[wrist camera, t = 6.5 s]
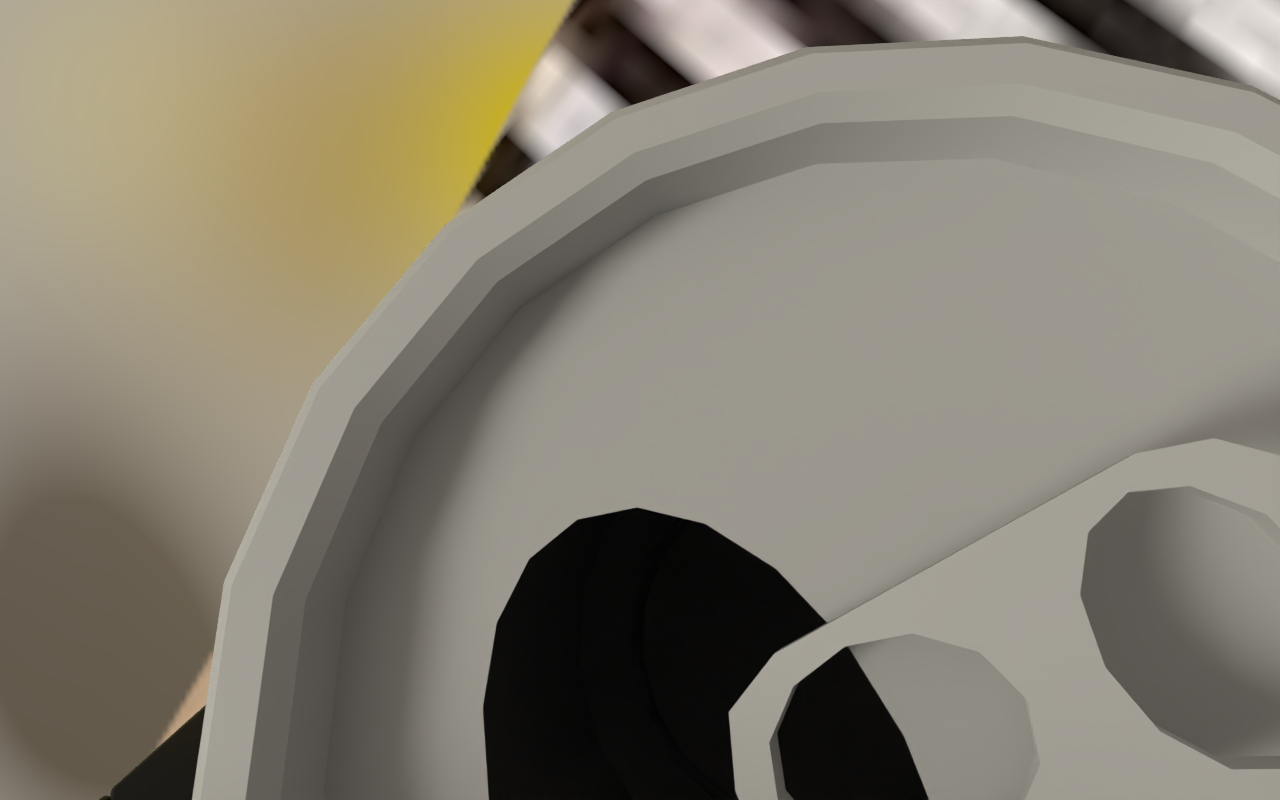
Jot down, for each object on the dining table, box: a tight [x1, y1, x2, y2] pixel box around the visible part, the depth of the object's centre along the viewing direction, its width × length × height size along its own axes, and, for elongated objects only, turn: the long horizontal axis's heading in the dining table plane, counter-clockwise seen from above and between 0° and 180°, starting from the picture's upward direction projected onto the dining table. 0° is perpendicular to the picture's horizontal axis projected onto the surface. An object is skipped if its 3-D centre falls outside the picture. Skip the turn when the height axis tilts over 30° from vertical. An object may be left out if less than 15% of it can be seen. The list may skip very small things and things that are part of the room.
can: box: [192, 36, 1280, 800], centre depth 9 cm, size 8×8×12 cm
